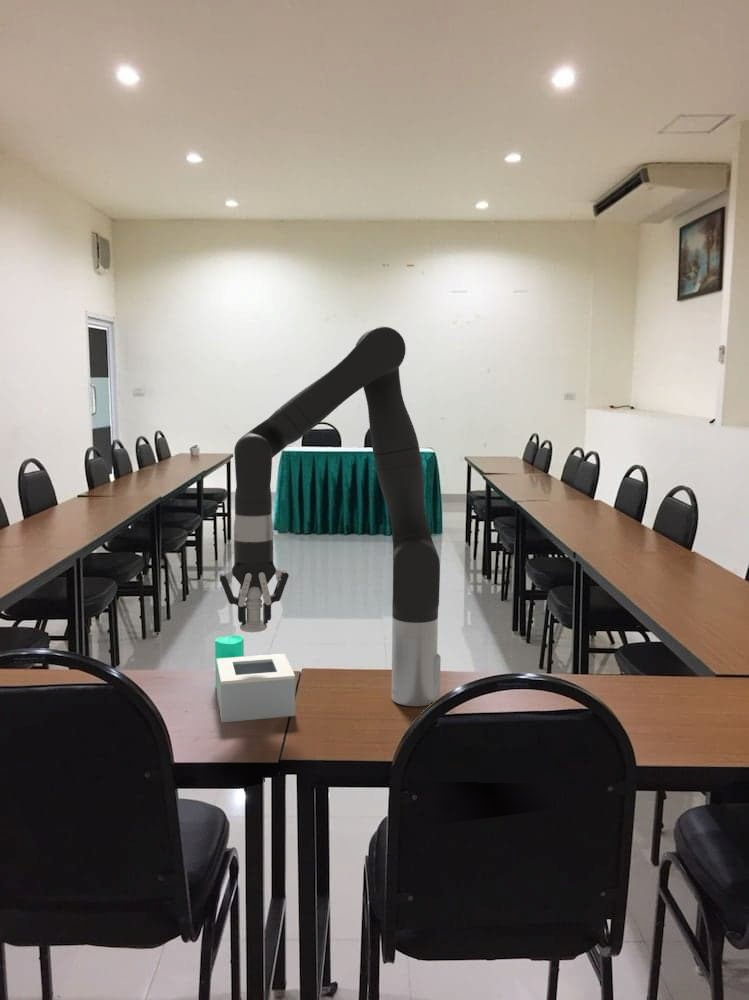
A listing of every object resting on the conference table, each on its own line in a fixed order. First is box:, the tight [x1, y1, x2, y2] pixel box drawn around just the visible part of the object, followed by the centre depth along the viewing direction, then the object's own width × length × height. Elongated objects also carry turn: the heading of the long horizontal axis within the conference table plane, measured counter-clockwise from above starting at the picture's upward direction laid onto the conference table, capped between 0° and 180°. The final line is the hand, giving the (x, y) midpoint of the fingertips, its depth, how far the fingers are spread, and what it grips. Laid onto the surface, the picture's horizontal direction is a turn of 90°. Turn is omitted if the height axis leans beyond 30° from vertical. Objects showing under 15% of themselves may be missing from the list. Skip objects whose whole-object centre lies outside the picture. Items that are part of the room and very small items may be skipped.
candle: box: [214, 631, 245, 689], centre depth 164 cm, size 6×6×12 cm
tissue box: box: [216, 653, 296, 723], centre depth 154 cm, size 14×14×8 cm
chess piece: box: [239, 587, 268, 633], centre depth 152 cm, size 5×5×9 cm
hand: (254, 622), depth 152 cm, fingers closed on chess piece, 3 cm apart
